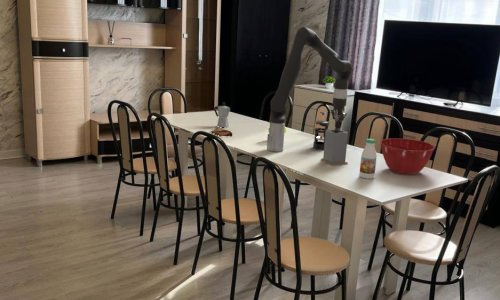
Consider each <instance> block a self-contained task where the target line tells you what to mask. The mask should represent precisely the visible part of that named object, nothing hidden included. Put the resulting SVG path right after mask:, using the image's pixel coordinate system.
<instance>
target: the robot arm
mask: <svg viewBox="0 0 500 300" xmlns="http://www.w3.org/2000/svg"><path fill="white" fill-rule="evenodd" d="M305 46H308V47H310V48H312V49H314V50H315V51H316V52H317V53H318V55H319V57H321V59H323V61H325V63H327V64H328V65H329V67H331V69H332V71H333V72H335V73H336V74H339V76H338V77H337V78H335V80H334V89H333V96H332V106H333V109H331V110H330V113H331V116H332V119H333V120H334V129H335V128H339V129H340V128H341V122H343V121H344V120H345V119H346V117H347V113H346V112H345V107H346V106H347V100H348V86H349V80H350V77H351V75H352V71H353V65H352V63H351V62H350V61H349V60H341V59H340V56H339V54H338V53H337V52H336V51H335V50H334V49H332V48H331V47H329V46H328V45H327V44H326V43H324V41H323V40H322V39H321V38H320V37H319V36H318V35H317V33H316V32H315V31H314V30H313V29H311V28H309V27H305V26H302V27H299V28H298V29H297V31H296V33H295V37H294V40H293V43H292V47H291V50H290V53H289V55H288V58H287V60H286V63H285V65H284V68H283V71H282V73H281V77H280V81H279V84H278V86H277V90H276V92H275V94H274V96H273V97H272V99H271V100H270V113H269V114H270V115H269V128H268V129H269V130H268V134H267V138H266V139H267V140H266V150H268V151H269V152H277V153H279V152H283V151H284V141H285V129H286V115H287V106H288V105H287V103H288V99H289V96H290V93H291V90H292V89H293V87H294V85H295V83H296V81H297V79H298V77H299V74H300V71H301V69H302V53H303V49H304V47H305Z"/></svg>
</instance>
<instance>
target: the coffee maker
mask: <svg viewBox="0 0 500 300" xmlns="http://www.w3.org/2000/svg"><path fill="white" fill-rule="evenodd" d="M231 110H232V109H231V107H229V106H227V105H226V102H222V104H221V105H218V106H217V105H216V106H214V107H213V111H214V113H215V116H216V117H218V120H217V125H216V127H217V126H219V127H229V118H228V117H229V114H230V111H231ZM229 128H230V127H229Z"/></svg>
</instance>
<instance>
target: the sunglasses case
mask: <svg viewBox="0 0 500 300" xmlns="http://www.w3.org/2000/svg"><path fill="white" fill-rule="evenodd" d="M210 132H212V133H211V134H213V133H215V134H214V135H216V134H217V135H216V136H218V135H219V136H218V137H220V136H230V137H233V132H232V131H231V130H228V129H226V128H220V127H215V129H212V130H210Z"/></svg>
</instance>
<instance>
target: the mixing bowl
mask: <svg viewBox="0 0 500 300" xmlns="http://www.w3.org/2000/svg"><path fill="white" fill-rule="evenodd" d="M380 147H381V152H382V156H383V159H384V162H385V165H386V166H387V168H388V169H390V170H391V171H392V172H393V173H396V174H399V175H416V174H419V173H420V172H421V171H422V170H423V169H424V168H425V167H426V165H427V164H428V162H429V161H430V159H431V158H432V155H433V153H434V150H435V149H436V146H435V145H433V144H432V143H430V142H426V141H422V140H417V139H411V138H385V139H381V140H380Z"/></svg>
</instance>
